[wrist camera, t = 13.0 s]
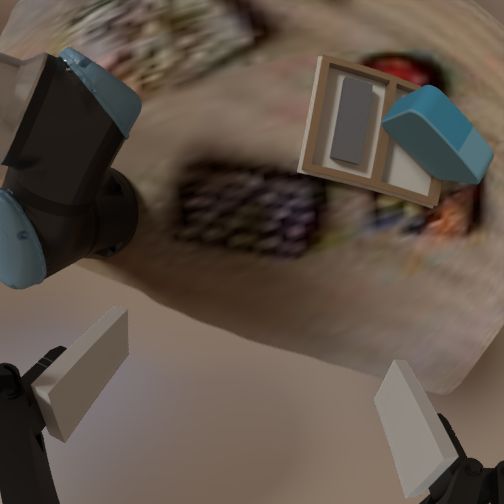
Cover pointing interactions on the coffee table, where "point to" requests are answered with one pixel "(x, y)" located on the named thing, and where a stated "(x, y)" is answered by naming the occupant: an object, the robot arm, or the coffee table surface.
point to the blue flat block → (438, 136)
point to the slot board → (376, 139)
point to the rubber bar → (351, 121)
